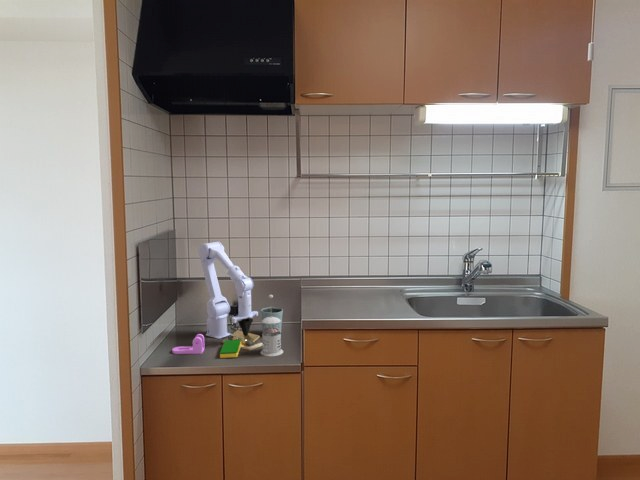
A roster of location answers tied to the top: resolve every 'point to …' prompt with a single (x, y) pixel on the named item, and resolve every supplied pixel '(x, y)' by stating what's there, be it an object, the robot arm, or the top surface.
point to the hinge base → (246, 343)
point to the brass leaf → (244, 336)
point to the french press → (271, 337)
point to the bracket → (192, 347)
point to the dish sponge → (230, 348)
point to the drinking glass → (272, 313)
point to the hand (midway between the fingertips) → (245, 334)
